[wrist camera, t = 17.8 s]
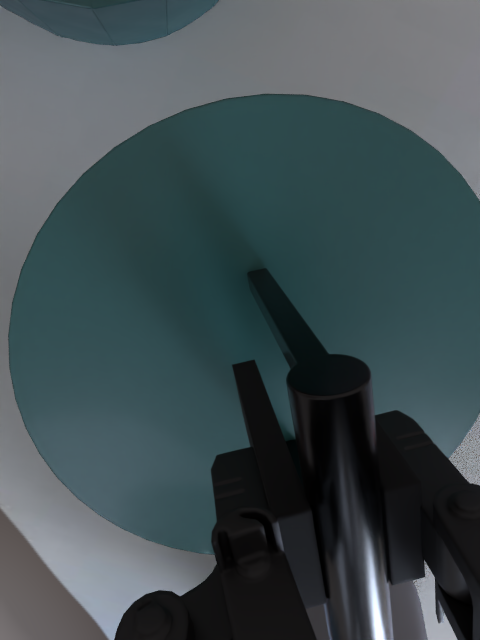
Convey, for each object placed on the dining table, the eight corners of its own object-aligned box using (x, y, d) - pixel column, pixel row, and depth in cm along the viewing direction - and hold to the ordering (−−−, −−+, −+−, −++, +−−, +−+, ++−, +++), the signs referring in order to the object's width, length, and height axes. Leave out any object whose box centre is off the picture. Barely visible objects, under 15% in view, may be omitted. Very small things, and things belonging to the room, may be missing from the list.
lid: (105, 577, 21) (58, 894, 12) (-75, 159, 14) (-496, 199, 5) (484, 480, 22) (691, 707, 13) (497, 46, 15) (961, -83, 6)
